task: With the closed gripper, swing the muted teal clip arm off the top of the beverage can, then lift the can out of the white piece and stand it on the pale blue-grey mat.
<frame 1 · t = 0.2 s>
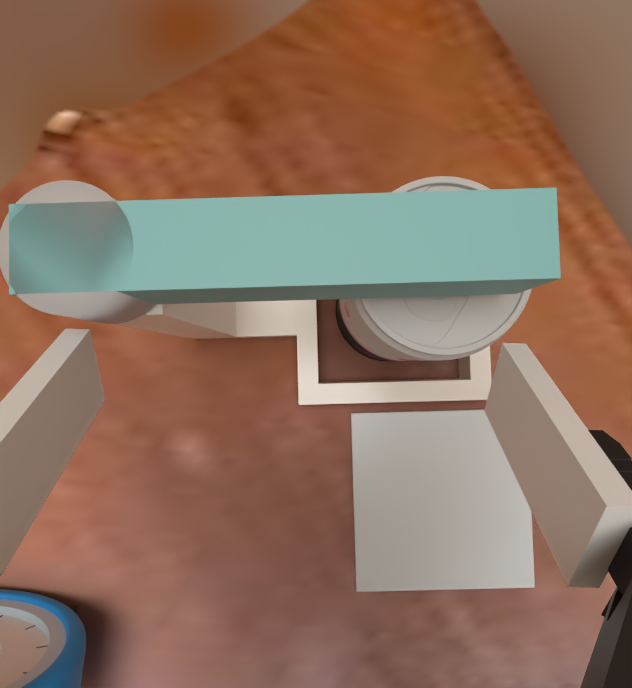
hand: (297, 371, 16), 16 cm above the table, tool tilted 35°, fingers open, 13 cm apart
white piece: (386, 310, 32), on the table
clip arm: (281, 253, 15), point 17 cm above the table, hinge at 0.0°, touching gripper
alarm clock: (19, 633, 32), on the table
beverage can: (385, 310, 32), resting in white piece
mat: (439, 497, 32), on the table
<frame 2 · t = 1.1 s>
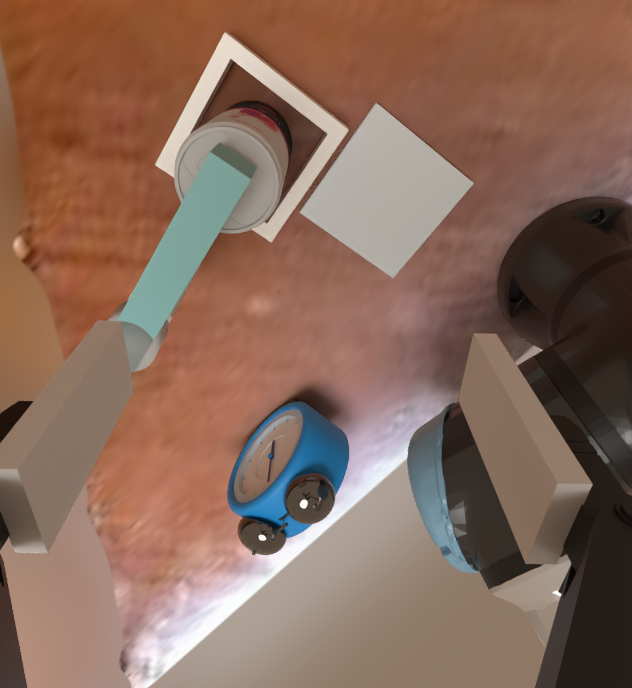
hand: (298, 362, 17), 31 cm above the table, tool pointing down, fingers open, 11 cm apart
white piece: (253, 142, 43), on the table
clip arm: (172, 267, 30), point 18 cm above the table, hinge at 0.9°
alarm clock: (290, 425, 59), on the table
beverage can: (253, 142, 43), resting in white piece
mat: (384, 196, 45), on the table
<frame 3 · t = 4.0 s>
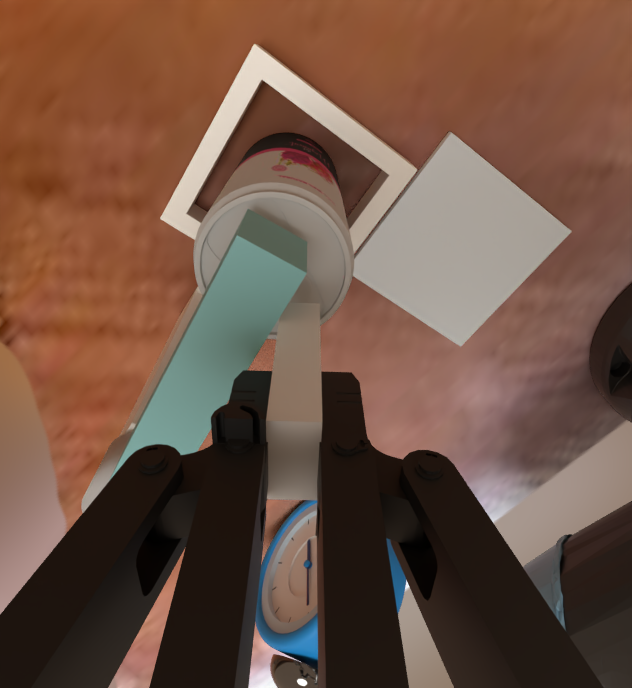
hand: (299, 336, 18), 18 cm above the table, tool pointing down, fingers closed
white piece: (287, 185, 33), on the table
clip arm: (187, 396, 20), point 17 cm above the table, hinge at 4.2°, touching gripper
alarm clock: (325, 512, 48), on the table
beverage can: (287, 184, 33), resting in white piece
mat: (454, 248, 35), on the table
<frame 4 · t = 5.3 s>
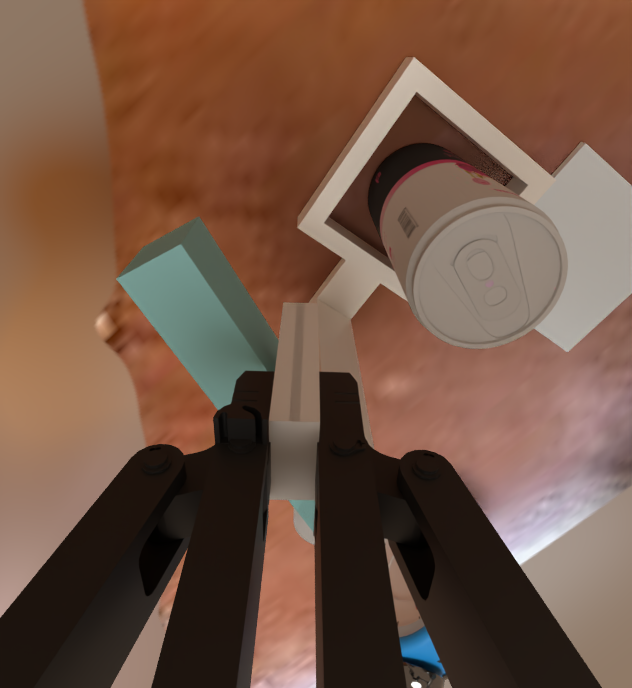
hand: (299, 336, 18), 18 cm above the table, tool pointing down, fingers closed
white piece: (416, 194, 33), on the table
clip arm: (272, 404, 20), point 18 cm above the table, hinge at 62.2°, touching gripper
alarm clock: (411, 516, 49), on the table
beverage can: (415, 194, 33), resting in white piece
mat: (571, 256, 36), on the table
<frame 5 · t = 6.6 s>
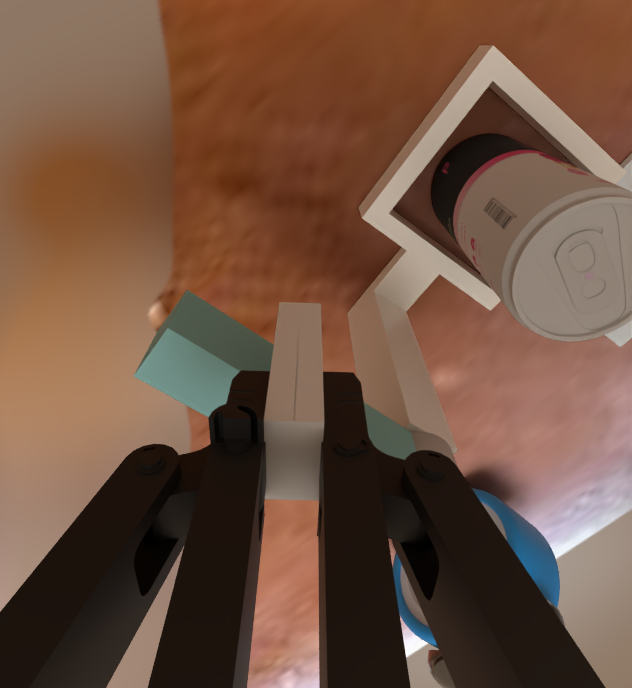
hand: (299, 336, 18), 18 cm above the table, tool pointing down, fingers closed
white piece: (479, 186, 33), on the table
clip arm: (321, 426, 20), point 18 cm above the table, hinge at 87.5°
alarm clock: (450, 509, 49), on the table
beverage can: (478, 185, 33), resting in white piece
mat: (631, 250, 35), on the table
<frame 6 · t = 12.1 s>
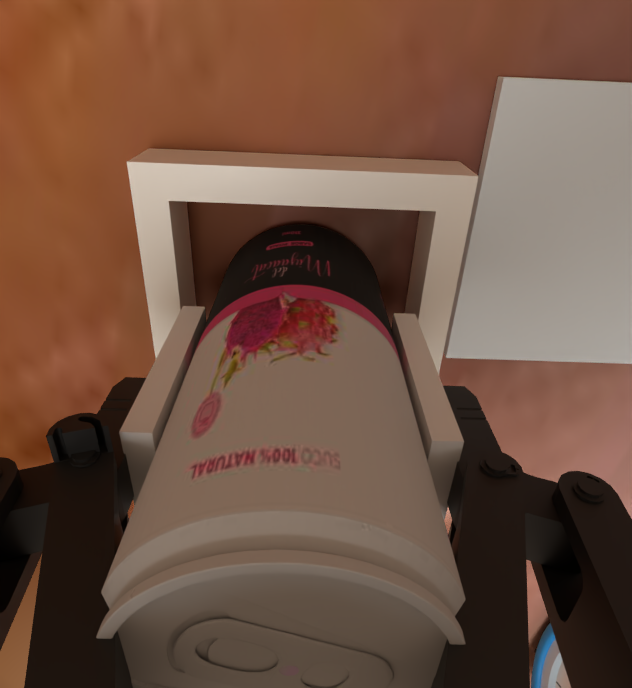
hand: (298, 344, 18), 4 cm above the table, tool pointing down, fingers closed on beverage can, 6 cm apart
white piece: (301, 295, 21), on the table
alarm clock: (584, 622, 34), on the table
beverage can: (301, 294, 21), resting in white piece, touching gripper
mat: (602, 238, 20), on the table
when the fingers open (6 cm above the table, at t = 18.8 s): beverage can drops 1 cm, resting on mat.
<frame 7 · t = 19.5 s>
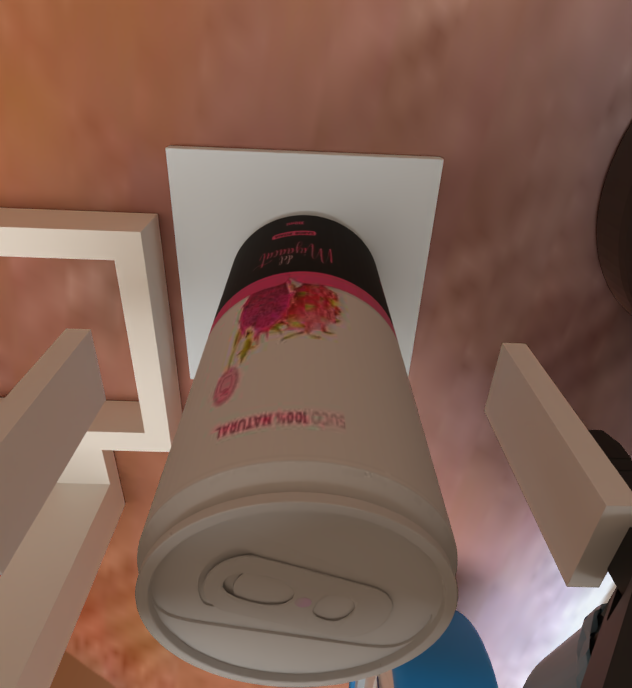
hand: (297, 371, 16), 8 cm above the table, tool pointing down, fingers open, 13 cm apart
white piece: (54, 325, 24), on the table
alarm clock: (400, 615, 37), on the table
beverage can: (304, 281, 23), resting on mat
mat: (302, 277, 23), on the table
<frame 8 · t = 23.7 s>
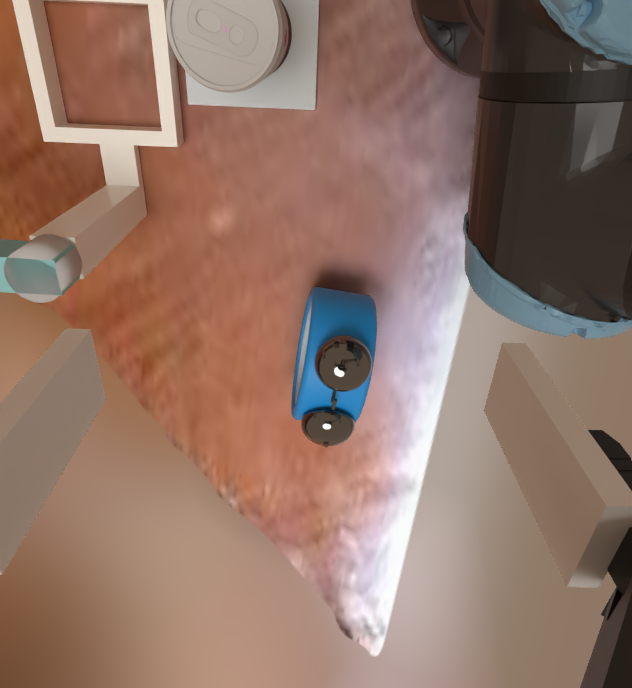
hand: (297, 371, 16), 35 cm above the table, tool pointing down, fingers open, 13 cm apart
white piece: (109, 67, 42), on the table
alarm clock: (330, 323, 55), on the table
beverage can: (251, 32, 41), resting on mat
mat: (250, 32, 41), on the table
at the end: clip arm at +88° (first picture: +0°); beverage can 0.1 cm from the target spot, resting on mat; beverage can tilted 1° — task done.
